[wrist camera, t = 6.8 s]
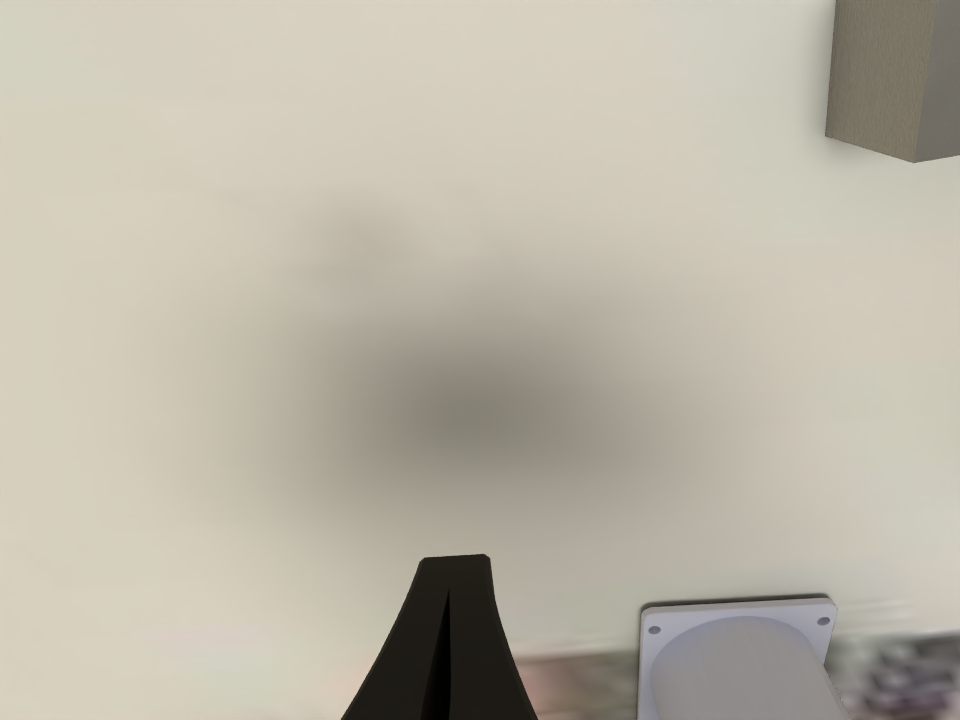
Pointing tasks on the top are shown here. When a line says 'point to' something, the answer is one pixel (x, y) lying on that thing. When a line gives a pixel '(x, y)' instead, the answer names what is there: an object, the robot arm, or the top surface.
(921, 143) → the block
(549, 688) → the top surface
